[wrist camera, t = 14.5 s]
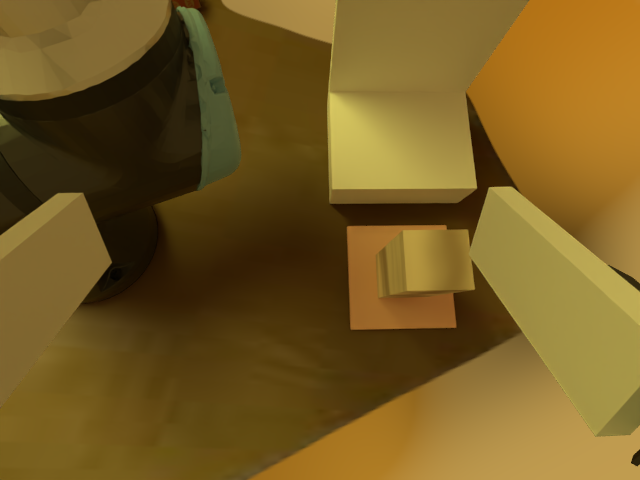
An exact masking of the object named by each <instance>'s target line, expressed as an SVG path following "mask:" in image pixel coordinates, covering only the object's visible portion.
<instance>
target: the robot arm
mask: <svg viewBox="0 0 640 480" xmlns="http://www.w3.org/2000/svg"><path fill="white" fill-rule="evenodd" d="M224 84H225V81H224V78H223V75H222V70H221V65H220V62H219V59H218V56H217V52H216V49H215V46H214V43H213V40H212V38H211V35H210V32H209V29H208V27H207V24H206V22H205V20H204V18H203V16H202V14H201V13H200V12H199V11H198V10H196V9H194V8H185V7H181V6H179V7H177V8H176V9H175V7H174V5H173V2H172V0H0V408H1V407H2V405H3V404H4V403H5V401H6V400H7V399H8V398H9V396H10V395H11V394H12V392H13V391H14V390H15V388H16V387H17V386H18V384H19V383H20V382H21V381H22V379H23V378H24V377H25V375H26V374H27V373H28V371H29V370H30V369H31V367H32V366H33V365H34V364H35V362H36V361H37V360H38V358H39V357H40V356H41V354H42V353H43V352H44V350H45V349H46V348H47V347H48V345H49V344H50V343H51V341H52V340H53V339H54V337H55V336H56V335H57V333H58V332H59V331H60V330H61V328H62V327H63V326H64V324H65V323H66V322H67V320H68V319H69V318H70V317H71V315H72V314H73V313H74V311H75V310H76V309H77V307H78V306H79V305H80V303H91V302H97V301H101V300H105V299H108V298H110V297H112V296H115V295H117V294H119V293H120V292H122V291H124V290H125V289H127V288H128V287H129V286H130V285H132V284H133V283H134V282H135V281H136V280H137V279H138V278H139V277H140V276H141V275H142V273H143V272H144V271H145V269H146V268H147V266H148V265H149V263H150V261H151V259H152V257H153V254H154V251H155V248H156V244H157V237H158V227H157V220H156V216H155V213H154V210H153V208H152V205H155V204H158V203H161V202H164V201H166V200H169V199H172V198H175V197H178V196H181V195H184V194H187V193H190V192H193V191H198V190H201V189H203V188H204V187H205V186H206V185H208V184H210V183H212V182H215V181H217V180H219V179H222V178H224V177H226V176H229V175H230V174H232V173H233V172H234V171H235V170H236V169H237V168H238V166H239V164H240V160H241V146H240V140H239V134H238V130H237V125H236V121H235V116H234V112H233V108H232V105H231V101H230V97H229V94H228V91H227V89H226V87H225V86H224ZM469 256H470V257H471V258H472V260H473V261H474V263H475V264H476V266H477V267H478V269H479V270H480V271H481V273H482V274H483V276H484V277H485V279H486V280H487V281H488V283H489V284H490V286H491V287H492V289H493V290H494V292H495V293H496V294H497V296H498V297H499V299H500V300H501V302H502V303H503V304H504V306H505V307H506V309H507V310H508V312H509V313H510V315H511V316H512V317H513V319H514V320H515V322H516V323H517V325H518V326H519V327H520V329H521V330H522V332H523V333H524V335H525V336H526V338H527V339H528V340H529V342H530V343H531V345H532V346H533V348H534V349H535V350H536V352H537V353H538V355H539V356H540V357H541V359H542V360H543V362H544V363H545V365H546V366H547V368H548V369H549V370H550V372H551V373H552V375H553V376H554V378H555V379H556V381H557V382H558V383H559V385H560V386H561V388H562V389H563V391H564V392H565V394H566V395H567V396H568V398H569V399H570V401H571V402H572V404H573V405H574V406H575V408H576V409H577V411H578V412H579V414H580V415H581V417H582V418H583V419H584V421H585V422H586V424H587V425H588V427H589V428H590V429H591V431H592V432H593V434H594V435H595V436H617V435H630V434H631V433H632V432H633V431H634V430H635V429H636V428H637V427H638V426H639V425H640V284H639V283H638V282H637V281H636V280H635V279H634V278H632V277H631V276H629V275H627V274H625V273H623V272H621V271H619V270H617V269H615V268H613V267H612V266H610V265H607V264H605V263H604V262H603V261H601V260H600V259H599V258H598V257H597V256H595V255H594V254H593V253H592V252H590V251H589V250H588V249H587V248H586V247H584V246H583V245H582V244H581V243H580V242H578V241H577V240H576V239H574V237H572V236H571V235H570V234H569V233H567V232H566V231H565V230H564V229H563V228H561V227H560V226H559V225H558V224H557V223H555V222H554V221H553V220H551V219H550V218H549V217H548V216H547V215H546V214H544V213H543V212H542V211H540V210H539V209H538V208H537V207H536V206H534V205H533V204H532V203H531V202H530V201H528V200H527V199H526V198H525V197H523V196H522V195H521V194H520V193H519V192H518V191H516V190H515V189H514V188H513V187H489V189H488V193H487V196H486V199H485V202H484V206H483V209H482V212H481V215H480V219H479V222H478V225H477V229H476V232H475V235H474V238H473V242H472V245H471V248H470V251H469ZM631 463H632V464H634V465H636V466H638V465H639V464H640V450H639V451H637V453H635V454H634V455H633V458H632V461H631Z"/></svg>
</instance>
